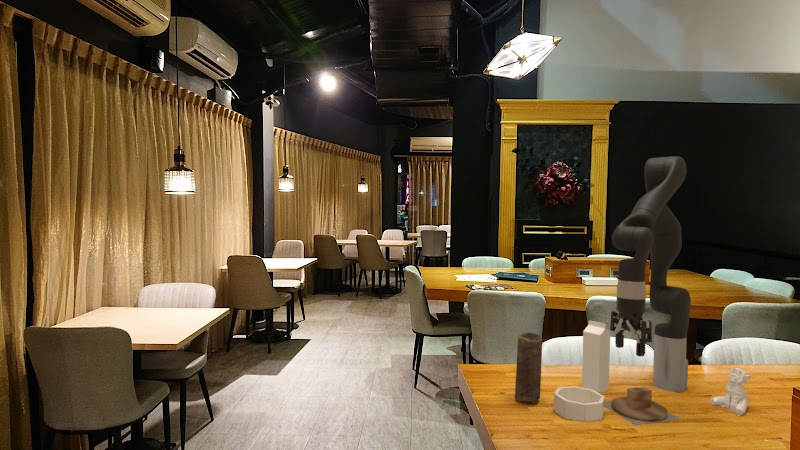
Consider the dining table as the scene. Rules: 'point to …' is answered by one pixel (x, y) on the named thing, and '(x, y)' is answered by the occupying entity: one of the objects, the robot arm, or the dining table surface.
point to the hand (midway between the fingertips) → (629, 351)
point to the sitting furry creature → (734, 393)
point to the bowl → (579, 403)
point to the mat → (637, 422)
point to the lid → (639, 406)
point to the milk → (596, 357)
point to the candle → (528, 367)
